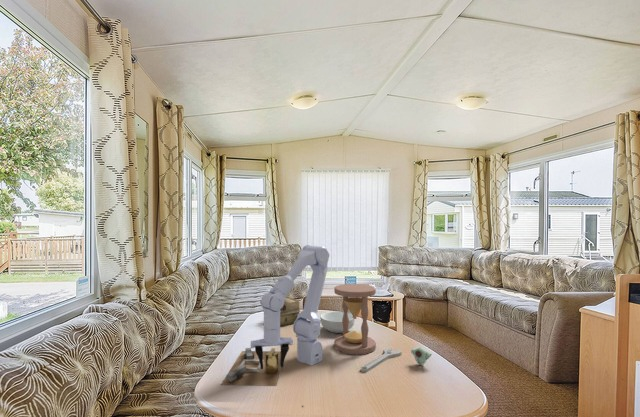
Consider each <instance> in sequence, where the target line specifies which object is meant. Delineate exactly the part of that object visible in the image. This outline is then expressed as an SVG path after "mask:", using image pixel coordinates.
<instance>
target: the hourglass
mask: <svg viewBox="0 0 640 417" xmlns="http://www.w3.org/2000/svg"><path fill="white" fill-rule="evenodd" d="M333 289H334V290H333V291H334V294H336V295H337V296H339V297H340V296H341V297H342V302H341V303H342V306H341V307H342V310H343V311H342V312H344V315H343V319H342V324H343V333H342V335H340V336H338V337H336V338H335V339H334V341H333V342H334V348H335V350H337V351H339V352H340V353H343V354H348V355H366V354H370V353H373V351H375V350H376V347H377V344H376V343H377V342H376V341H375V339H373V338H372V337H369V336H368V335H369V325H368V317H369V307H368V297H372V296H374V295H375V294H376V293H377V289H376V288H375V287H374V286H373V285H372V286H371V285H369V284H362V283H344V284H343V283H342V284H339V285H336V286H335V287H334V288H333ZM347 313H351V314H352V315H353V319H355V320H356V319H357V316H358V314H359V313H360V314H361V315H360V316H361V318H362V323H361V327H360V332H359V331H357V330H353V331H350V332H349V330H348V326H349V318H348V314H347Z"/></svg>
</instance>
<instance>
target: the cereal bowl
mask: <svg viewBox="0 0 640 417" xmlns="http://www.w3.org/2000/svg"><path fill="white" fill-rule="evenodd" d="M347 314H348V318H349V326H348V331H349V330H351V329H352V328H353V327H354V326H355V321H356V319H353V315H352V313H351V312H348V313H347ZM343 315H344V312H343V311H341V310H339V311H338V310H335V311H329V312H327V311H326V312H324V313H322V314H320V316H319V318H320V320H321V322H320V325H321V326H322V327H323V329H325V330H327V331H329V332H331V333H333V334H334V333H335V334H343V324H342V319H343Z"/></svg>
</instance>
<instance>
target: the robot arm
mask: <svg viewBox="0 0 640 417" xmlns="http://www.w3.org/2000/svg"><path fill="white" fill-rule="evenodd" d="M298 253H299V254H298V257H297V258H296V260H295V262H294V263H293V264H292V266H291V268H290V269H289V271H288V272H287V274H285V275H281V276H279V277H278V278H277V281H276V283H275V284H274V285H273V286H272V287H271V288H270V290H269V291H267V292H265V293H264V295H262V297H261V300H260V306H261V307H262V310H263V338H261V339H256V340H250V348H251V349H254V348H255V350H254V351H256V354H257V356H258V358H259V361H260V365H261V369H263V351H264V350H263V347H273V346H274V347H276V346H280V351H281V359H280V365H281V367H282V368H283V367H284V363H285V359H286V356H287V354H288V352H289V350H290V346H293V345H294V339H293V337H281V327H280V309H281V308H282V307H283V305H284V300H285V298H286V297H287V296H288V295H289V293H290V292H291V291H292V289H293V288H294V287H295V280H296V279H297V278H298V277H299V275H300V274H301V273H302V272H304V269H306V267H308V266H309V267H310V268H311V269H312V273H311V277H310V282H309V285H308V290H307V294H306V297H305V303H304V305H303V310H302V311H300V312H299V314H298V316H297V319H296V321H295V322H294V324H293V325H292V330H293V332H294V334H295V337H296V340H297V341H296V360H297V361H298V362H300V363H303V364H306V365H309V366H313V365H315V364H318V363H321V362H322V361H323V345H322V343H321V342H320V341H319V340H317V339H318V338H319V336H320V334H321V319H320V316H319V315H318V311H319V307H320V303H321V302H320V301H321V299H322V294H323V290H324V286H325V282H326V278H327V274H328V262H329V259H330V252H329V251H328V249H327V248H326V247H325V246H323V245H321V246H318V245H316V246H315V245H309V244H306V245H304V246H303V247H302V248H301V250H300V251H299V252H298Z"/></svg>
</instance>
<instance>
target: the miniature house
mask: <svg viewBox="0 0 640 417" xmlns="http://www.w3.org/2000/svg"><path fill="white" fill-rule="evenodd" d="M300 312H301V309H300V300H297V299H296V298H295V299H294V298H291V297H289V296H288V297H287V296H286V298H285V300H284V305H283V307H282V308H281V309H280V328H284V327H288V326H291V325H292V326H293V325H294V322H295V321H296V319H297V316H298V314H299V313H300Z"/></svg>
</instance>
